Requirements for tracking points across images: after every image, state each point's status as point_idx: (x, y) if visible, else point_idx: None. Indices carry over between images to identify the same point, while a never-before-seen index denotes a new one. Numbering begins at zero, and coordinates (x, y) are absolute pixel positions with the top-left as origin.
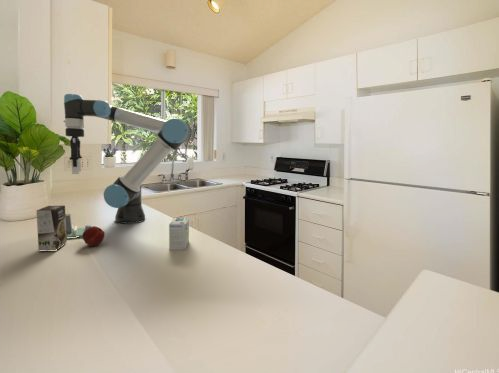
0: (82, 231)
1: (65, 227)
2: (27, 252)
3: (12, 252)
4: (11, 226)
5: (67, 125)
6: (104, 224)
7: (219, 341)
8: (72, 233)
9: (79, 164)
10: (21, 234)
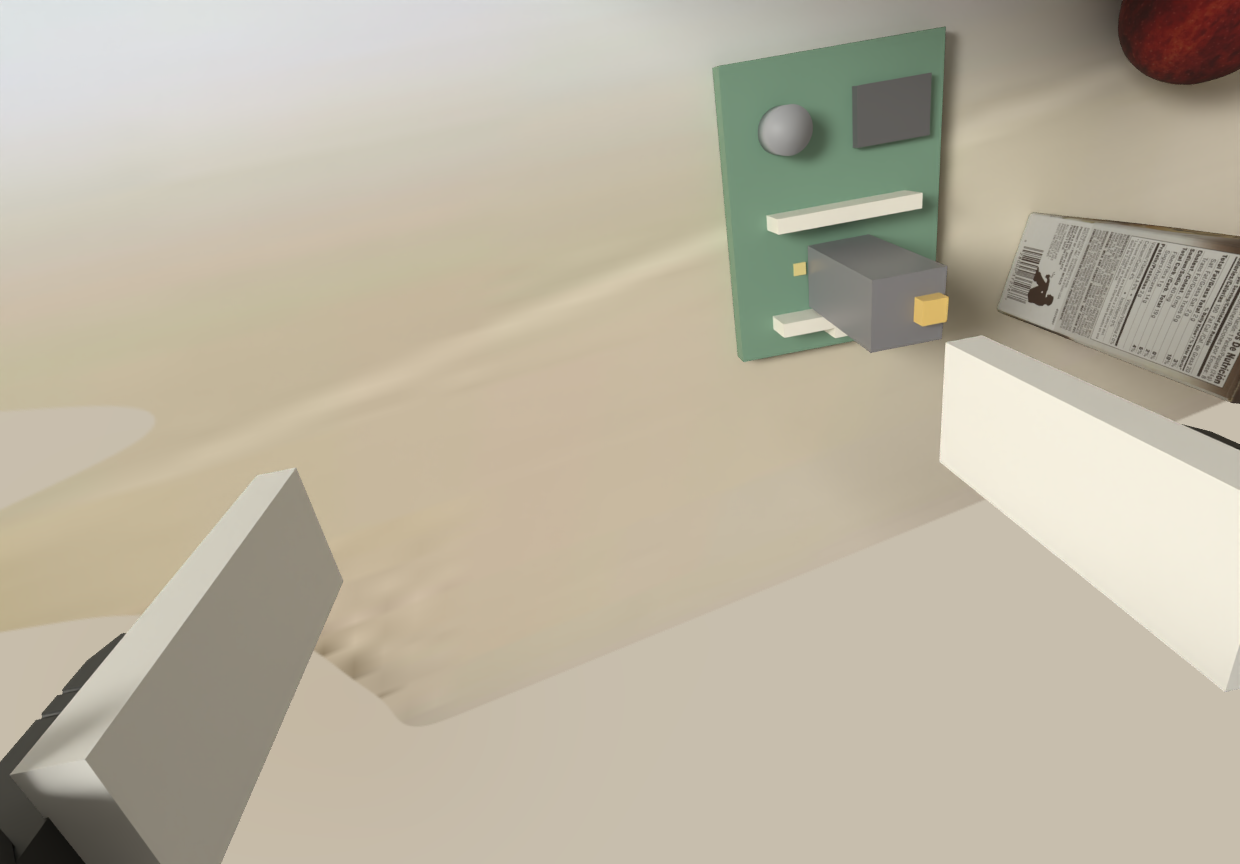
0: (838, 163)
1: (1136, 227)
2: (1088, 377)
3: None
4: (517, 662)
5: None
6: (548, 22)
7: None
8: (870, 226)
9: (226, 608)
10: (721, 539)
